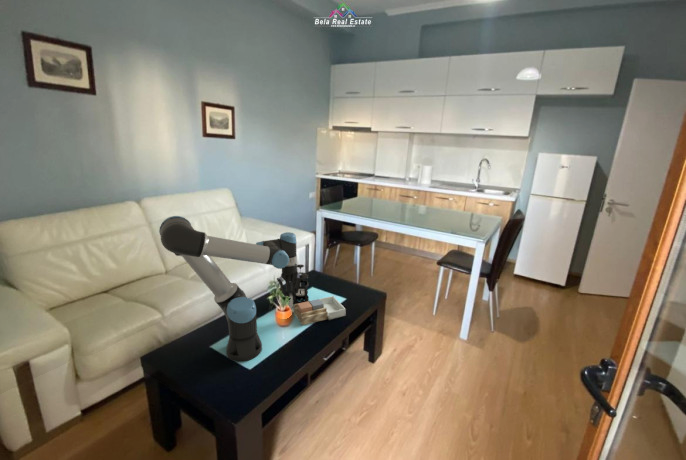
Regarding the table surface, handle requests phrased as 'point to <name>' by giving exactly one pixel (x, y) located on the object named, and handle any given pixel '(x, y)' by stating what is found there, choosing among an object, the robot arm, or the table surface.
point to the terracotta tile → (304, 307)
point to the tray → (333, 307)
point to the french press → (301, 288)
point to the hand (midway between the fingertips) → (290, 306)
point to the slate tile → (316, 304)
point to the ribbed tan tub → (310, 315)
